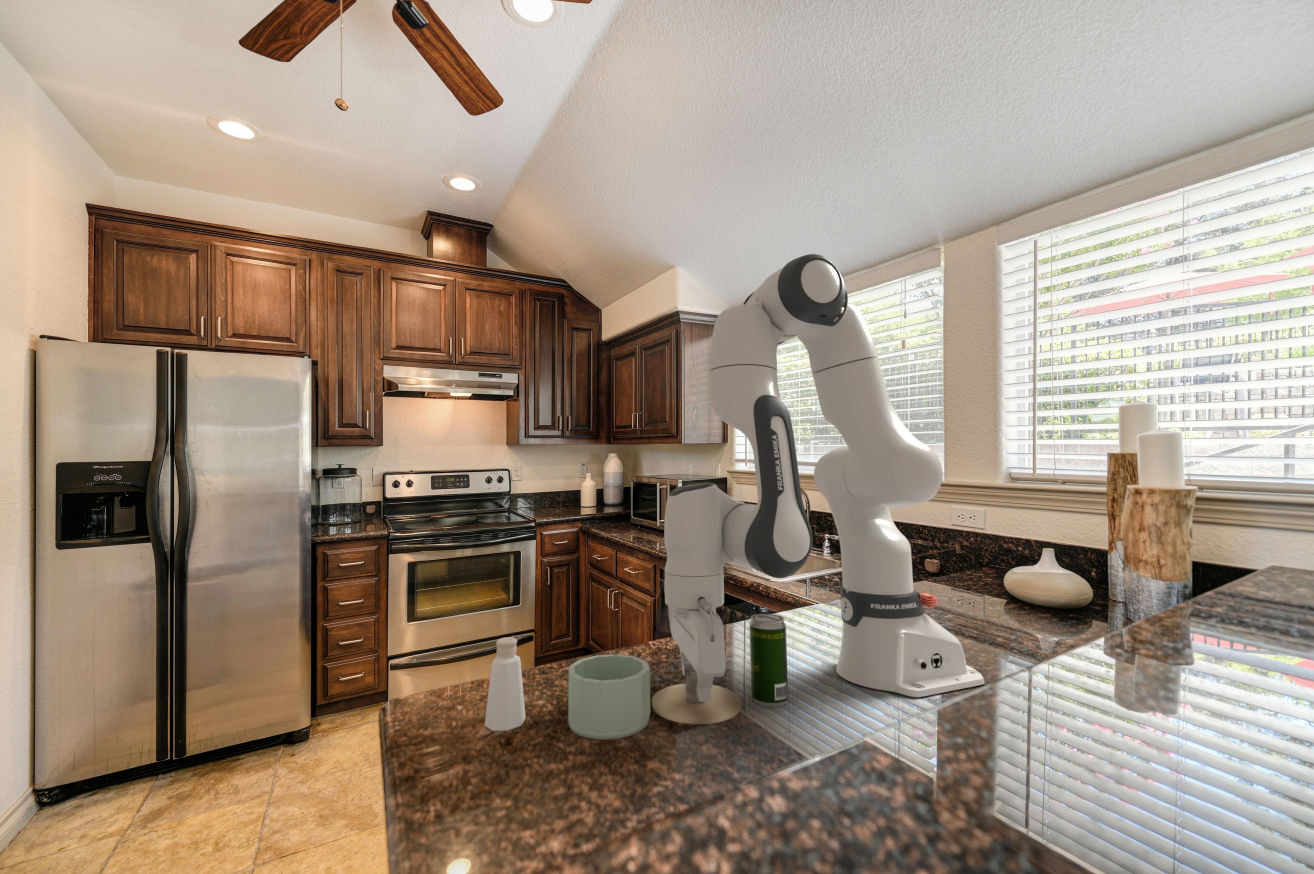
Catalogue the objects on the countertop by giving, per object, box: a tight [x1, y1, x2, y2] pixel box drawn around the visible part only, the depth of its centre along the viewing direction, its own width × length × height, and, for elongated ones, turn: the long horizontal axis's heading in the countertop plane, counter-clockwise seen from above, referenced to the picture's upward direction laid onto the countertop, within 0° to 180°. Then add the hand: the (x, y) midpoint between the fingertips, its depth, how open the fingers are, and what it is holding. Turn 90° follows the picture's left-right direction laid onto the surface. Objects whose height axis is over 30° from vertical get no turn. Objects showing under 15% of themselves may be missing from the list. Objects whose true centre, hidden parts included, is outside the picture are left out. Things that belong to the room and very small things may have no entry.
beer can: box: [749, 613, 789, 708], centre depth 78 cm, size 5×5×12 cm
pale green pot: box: [567, 653, 651, 741], centre depth 72 cm, size 11×11×7 cm
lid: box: [651, 674, 742, 725], centre depth 77 cm, size 13×13×4 cm
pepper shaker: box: [484, 636, 526, 732], centre depth 72 cm, size 5×5×11 cm
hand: (695, 687), depth 77 cm, fingers open, 8 cm apart
